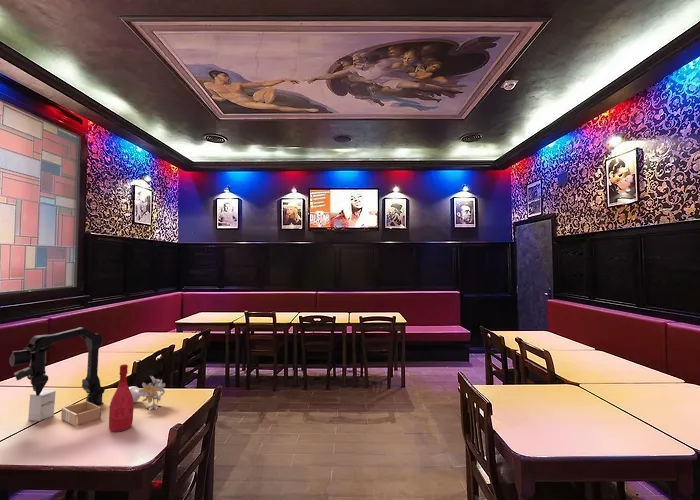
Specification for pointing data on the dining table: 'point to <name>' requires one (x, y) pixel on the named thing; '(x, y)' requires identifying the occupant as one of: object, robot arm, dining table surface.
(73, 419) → the flap
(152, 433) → the dining table surface
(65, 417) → the flap
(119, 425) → the wine bottle
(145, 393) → the flower vase
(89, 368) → the robot arm
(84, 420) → the carton
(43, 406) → the supplement box
